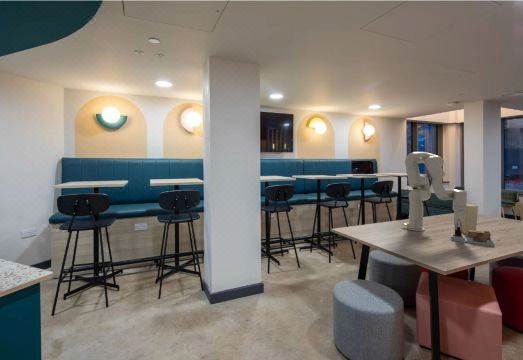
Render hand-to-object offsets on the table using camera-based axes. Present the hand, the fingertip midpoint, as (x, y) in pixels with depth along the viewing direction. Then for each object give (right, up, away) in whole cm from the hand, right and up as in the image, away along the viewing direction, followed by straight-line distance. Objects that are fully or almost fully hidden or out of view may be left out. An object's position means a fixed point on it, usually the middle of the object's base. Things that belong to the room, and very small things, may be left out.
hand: (457, 234), depth 190 cm
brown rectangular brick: (0, -1, 0) cm, 1 cm away
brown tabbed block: (+10, -3, -6) cm, 12 cm away
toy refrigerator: (+20, -2, +17) cm, 26 cm away
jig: (+6, -4, -4) cm, 8 cm away
